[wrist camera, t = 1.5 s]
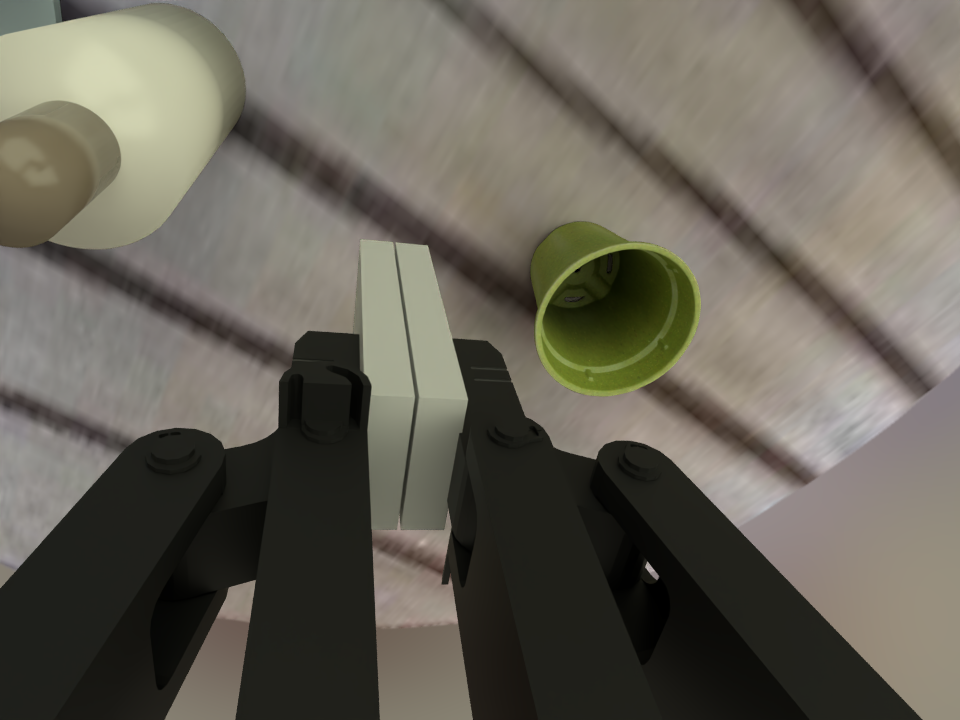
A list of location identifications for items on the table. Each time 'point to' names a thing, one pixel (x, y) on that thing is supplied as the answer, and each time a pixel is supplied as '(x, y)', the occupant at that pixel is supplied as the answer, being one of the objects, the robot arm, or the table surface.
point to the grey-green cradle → (28, 14)
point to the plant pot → (610, 309)
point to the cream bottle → (110, 123)
